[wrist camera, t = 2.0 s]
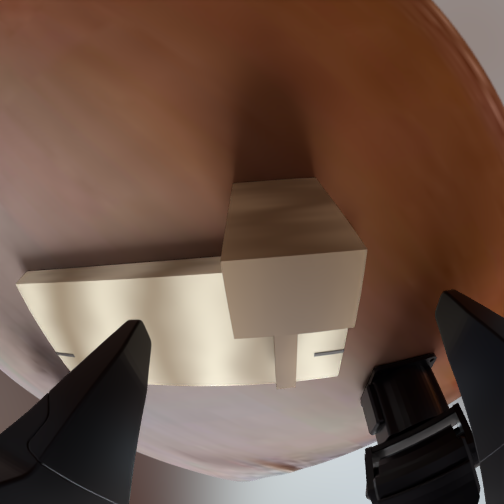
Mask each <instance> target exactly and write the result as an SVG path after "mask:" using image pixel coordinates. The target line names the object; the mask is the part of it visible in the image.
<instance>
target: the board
mask: <svg viewBox="0 0 504 504" xmlns="http://www.w3.org/2000/svg"><path fill="white" fill-rule="evenodd" d="M220 259H221V256H220V257H207V258H195V259H182V260H169V261H157V262H144V263H131V264H118V265H105V266H92V267H79V268H66V269H53V270H40V271H27V272H26V273H25V274H24V275H23V276H22V277H21V279H20V280H19V281H18V282H17V283H16V286H17V288H18V290H19V292H20V293H21V295H22V297H23V299H24V301H25V303H26V305H27V306H28V308H29V310H30V312H31V313H32V315H33V317H34V318H35V320H36V322H37V323H38V325H39V327H40V328H41V330H42V331H43V333H44V335H45V336H46V338H47V339H48V341H49V342H50V344H51V345H52V347H53V348H54V350H55V351H56V353H57V355H59V357H60V358H61V360H62V361H63V362H64V364H65V365H66V366H67V368H68V369H69V370H70V372H71V371H72V370H73V369H74V368H75V367H76V366H77V365H78V364H79V363H80V362H82V361H83V360H84V359H85V358H86V357H87V356H88V355H89V354H90V353H91V352H93V351H94V350H95V349H96V348H97V347H98V346H99V345H100V344H101V343H103V342H104V341H105V340H106V339H107V338H108V337H109V336H110V335H111V334H113V333H114V332H115V331H116V330H117V329H118V328H119V327H120V326H122V325H123V324H124V323H125V322H126V321H127V320H130V319H139V320H142V321H143V323H144V325H145V327H146V330H147V332H148V334H149V336H150V339H151V344H152V347H151V356H150V365H149V375H148V384H152V385H173V386H236V385H257V384H272V383H276V374H275V354H274V336H273V337H260V338H245V339H234V335H233V330H232V325H231V320H230V314H229V309H228V303H227V298H226V292H225V287H224V281H223V275H222V269H221V263H220ZM347 331H348V328H346V329H339V330H331V331H323V332H314V333H305V334H298V343H297V369H296V381H304V380H312V379H320V378H327V377H334V376H338V373H339V369H340V365H341V360H342V356H343V352H344V346H345V341H346V336H347Z"/></svg>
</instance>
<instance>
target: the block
mask: <svg viewBox="0 0 504 504" xmlns="http://www.w3.org/2000/svg"><path fill="white" fill-rule="evenodd" d="M366 256H367V248H366V247H365V245H364V244H363V242H362V241H361V239H360V238H359V236H358V235H357V233H356V232H355V231H354V229H353V228H352V226H351V225H350V223H349V222H348V221H347V219H346V218H345V216H344V215H343V214H342V212H341V211H340V210H339V208H338V207H337V205H336V204H335V203H334V201H333V200H332V199H331V197H330V196H329V195H328V193H327V192H326V191H325V189H324V188H323V187H322V186H321V184H320V183H319V182H318V180H317V179H316V178H297V179H281V180H267V181H254V182H243V183H233V186H232V192H231V197H230V203H229V209H228V215H227V221H226V228H225V234H224V240H223V246H222V253H221V259H220V263H221V269H222V275H223V281H224V287H225V292H226V298H227V303H228V309H229V314H230V320H231V325H232V330H233V335H234V339H245V338H260V337H273V336H274V354H275V374H276V387H277V389H284V388H295V387H296V369H297V343H298V334H305V333H314V332H323V331H331V330H339V329H346V328H353V327H355V322H356V317H357V312H358V306H359V301H360V295H361V289H362V283H363V277H364V270H365V263H366Z"/></svg>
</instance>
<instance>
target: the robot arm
mask: <svg viewBox="0 0 504 504" xmlns="http://www.w3.org/2000/svg"><path fill="white" fill-rule="evenodd" d="M435 318H436V321H437V324H438V327H439V331H440V334H441V337H442V340H443V344H444V347H445V350H446V354H447V357H448V360H449V363H450V365H451V368H452V371H453V373H454V376H455V379H456V382H457V384H458V387H459V390H460V393H461V396H462V399H463V402H464V406H465V409H466V412H467V415H468V418H469V422H470V426H471V429H472V431H471V429H470V427H469V425H468V423H467V420H466V418H465V416H464V414H463V412H462V410H461V408H460V406H459V404H458V403H456V404H455V405H453V407H451V408H450V409H449V407H448V404H447V402H446V400H445V397H444V395H443V393H442V391H441V388H440V386H439V384H438V382H437V380H436V378H435V376H434V373H433V371H432V369H431V368H432V366H433V364H434V362H435V360H436V358H437V357H436V355H435V354H434V353H432V354H428V355H425V356H421V357H417V358H413V359H409V360H405V361H400V362H396V363H392V364H387V365H382V366H378V367H376V368H375V369H374V370H373V372H372V374H371V377H370V380H369V382H368V385H367V386H366V388H365V390H364V393H363V395H362V398H361V406H362V407H363V411H364V414H365V418H366V422H367V426H368V430H369V433H370V434H371V435H376V438H377V442H378V445H376V446H373V447H369V448H366V449H365V453H366V454H365V466H366V479H367V480H366V481H367V485H366V497H367V499H369V500H371V502H372V504H478V501H479V498H480V495H479V493H480V485H479V481H478V477H477V474H476V470H475V468H476V467H478V466H480V469H481V474H482V480H483V486H484V493H485V501H486V504H504V318H503V317H501V316H500V315H498V314H496V313H495V312H493V311H491V310H490V309H488V308H486V307H485V306H483V305H481V304H479V303H478V302H476V301H474V300H472V299H471V298H469V297H467V296H465V295H464V294H462V293H460V292H458V291H456V290H454V289H451V290H446V291H444V292H443V293H442V294H441V297H440V300H439V302H438V305H437V308H436V311H435ZM151 347H152V344H151V339H150V336H149V334H148V332H147V330H146V327H145V325H144V323H143V321H142V320H139V319H130V320H127V321H126V322H125V323H124V324H123V325H122V326H120V327H119V328H118V329H117V330H116V331H115V332H114V333H113V334H111V335H110V336H109V337H108V338H107V339H106V340H105V341H104V342H103V343H101V344H100V345H99V346H98V347H97V348H96V349H95V350H94V351H93V352H91V353H90V354H89V355H88V356H87V357H86V358H85V359H84V360H83V361H82V362H80V363H79V364H78V365H77V366H76V367H75V368H74V369H73V370H72V371H71V372H70V373H69V374H67V375H66V376H65V377H64V378H63V379H62V380H61V381H60V382H59V383H58V384H57V385H56V386H55V387H54V388H52V389H51V390H50V391H49V393H47V394H46V395H45V396H44V397H43V398H42V399H41V400H40V401H39V402H38V403H37V404H35V405H34V406H33V407H32V408H31V409H30V410H29V411H28V412H27V413H25V414H24V415H23V416H22V417H21V418H19V419H18V420H17V421H16V422H14V423H13V424H12V425H11V426H9V427H8V428H7V429H6V430H5V431H3V432H2V433H1V434H0V504H129V500H130V491H131V483H132V476H133V468H134V461H135V455H136V449H137V442H138V436H139V431H140V425H141V420H142V414H143V409H144V404H145V399H146V393H147V386H148V375H149V365H150V356H151ZM456 424H457V426H458V427H457V428H455V429H454V430H453V428H452V427H453V426H454V425H456Z"/></svg>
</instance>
